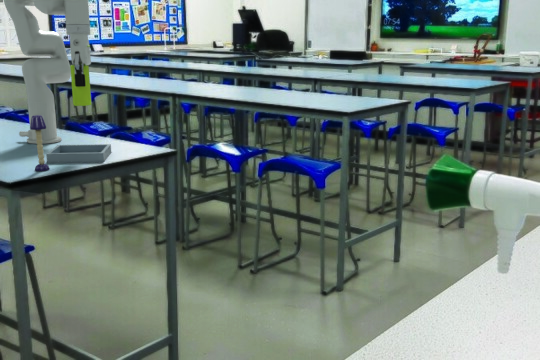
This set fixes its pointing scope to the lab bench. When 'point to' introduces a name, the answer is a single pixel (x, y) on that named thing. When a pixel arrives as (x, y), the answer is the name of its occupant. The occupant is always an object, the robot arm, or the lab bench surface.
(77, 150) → the tray
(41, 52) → the robot arm
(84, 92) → the soap dispenser
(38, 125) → the toy lamp
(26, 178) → the lab bench surface
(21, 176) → the lab bench surface
